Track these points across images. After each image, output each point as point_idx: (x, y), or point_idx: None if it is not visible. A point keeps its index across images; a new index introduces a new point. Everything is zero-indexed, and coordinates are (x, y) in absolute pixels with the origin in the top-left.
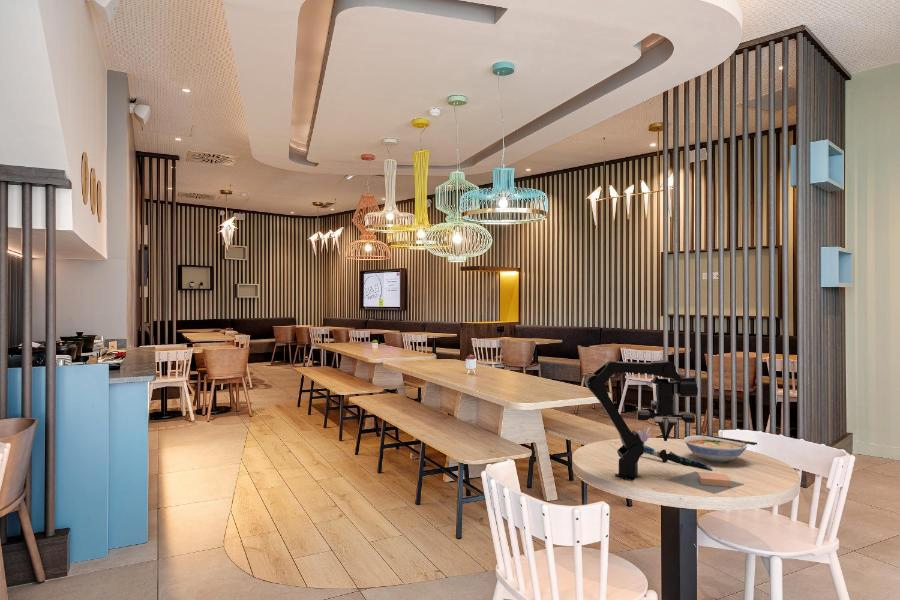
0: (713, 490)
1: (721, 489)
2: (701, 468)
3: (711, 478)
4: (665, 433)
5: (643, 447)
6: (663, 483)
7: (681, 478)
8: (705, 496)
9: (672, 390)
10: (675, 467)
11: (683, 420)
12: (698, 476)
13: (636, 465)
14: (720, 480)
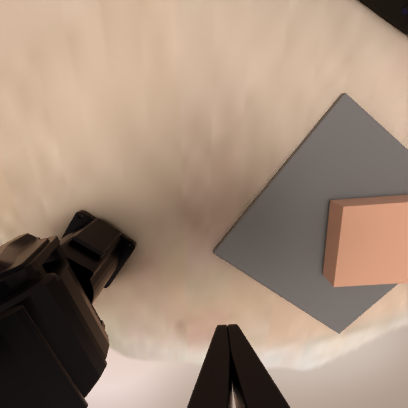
0: (344, 310)
1: (372, 294)
2: (392, 17)
3: (370, 278)
4: (238, 386)
5: (95, 382)
6: (207, 275)
7: (269, 222)
8: (309, 344)
9: None
10: (268, 18)
11: None
12: (333, 225)
13: (104, 275)
14: (395, 282)
